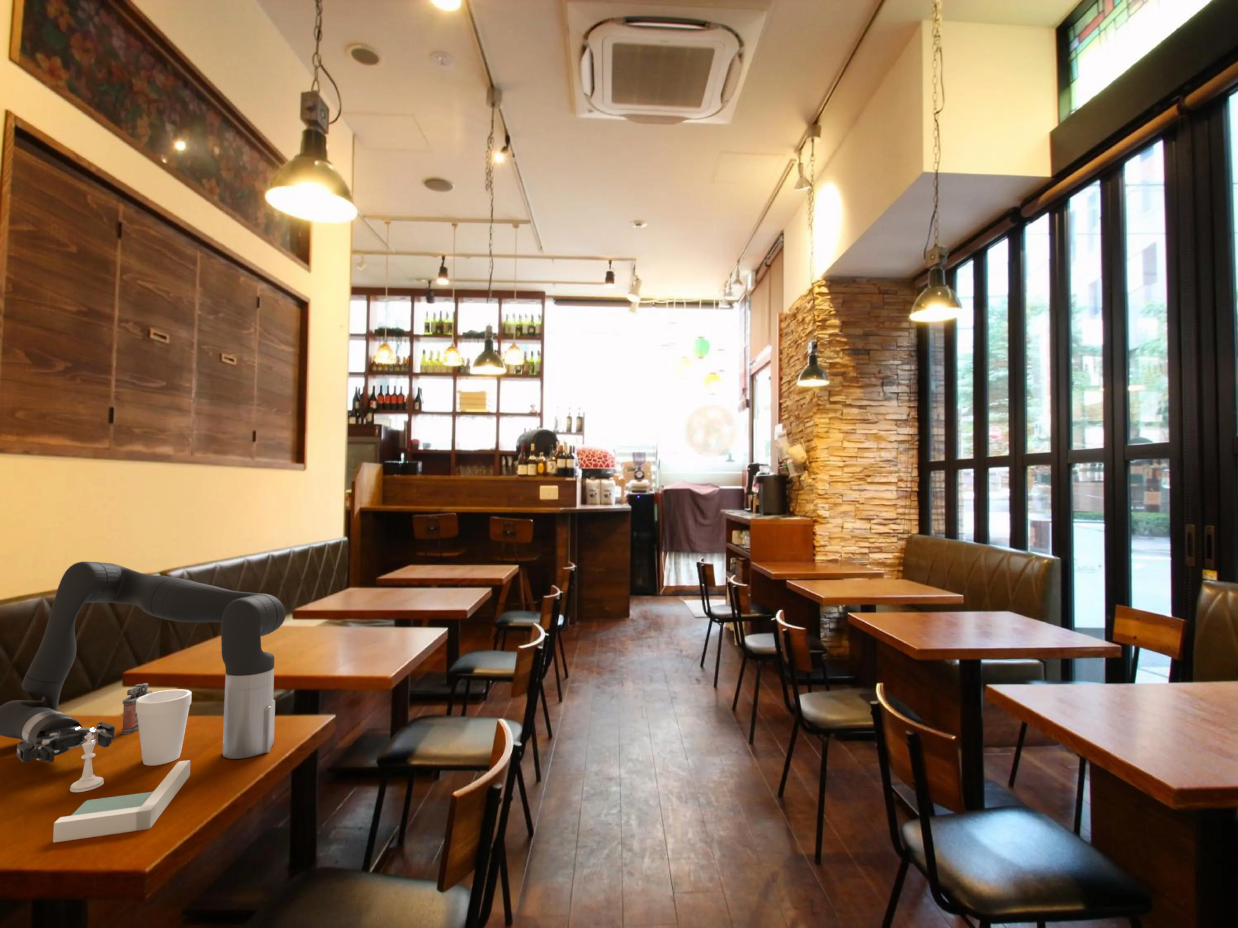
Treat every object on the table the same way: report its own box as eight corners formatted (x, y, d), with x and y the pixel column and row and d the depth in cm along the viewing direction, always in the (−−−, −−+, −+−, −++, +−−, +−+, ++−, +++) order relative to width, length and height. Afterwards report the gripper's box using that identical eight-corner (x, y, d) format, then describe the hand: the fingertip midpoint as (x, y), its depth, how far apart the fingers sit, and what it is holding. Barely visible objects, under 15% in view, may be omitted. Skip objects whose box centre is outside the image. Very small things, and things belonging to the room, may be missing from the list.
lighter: (140, 721, 153) (142, 680, 154) (155, 721, 153) (156, 679, 154) (117, 734, 145) (119, 690, 146) (132, 733, 145) (134, 689, 146)
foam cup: (141, 753, 134) (144, 692, 135) (193, 747, 138) (195, 687, 138) (127, 771, 125) (130, 705, 126) (182, 764, 129) (185, 699, 130)
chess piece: (84, 793, 116) (86, 738, 117) (62, 790, 117) (65, 736, 118) (110, 781, 121) (112, 728, 122) (89, 779, 122) (92, 726, 123)
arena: (189, 775, 124) (190, 759, 124) (150, 828, 104) (150, 809, 104) (103, 785, 119) (104, 769, 119) (45, 843, 99) (46, 824, 100)
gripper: (5, 724, 125) (33, 741, 116) (94, 704, 137) (125, 718, 128) (3, 762, 124) (31, 782, 116) (93, 739, 136) (124, 755, 128)
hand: (80, 748), depth 122 cm, fingers open, 8 cm apart
